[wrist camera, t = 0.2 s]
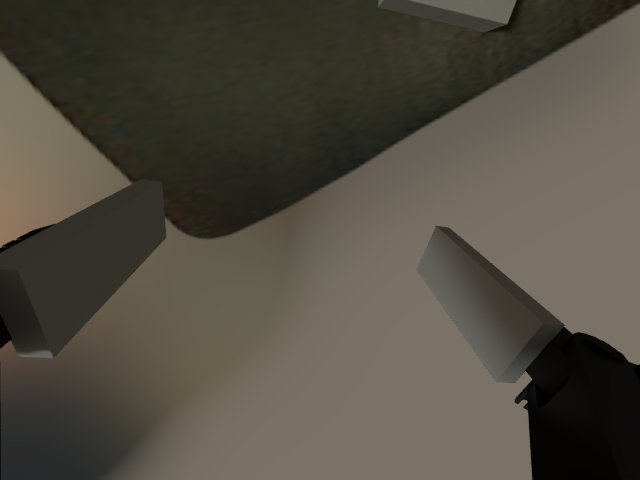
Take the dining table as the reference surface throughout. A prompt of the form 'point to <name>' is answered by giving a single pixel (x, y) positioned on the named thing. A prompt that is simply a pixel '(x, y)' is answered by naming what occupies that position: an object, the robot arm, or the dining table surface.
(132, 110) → the dining table surface
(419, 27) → the dining table surface
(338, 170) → the dining table surface
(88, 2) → the dining table surface
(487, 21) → the white square platform
